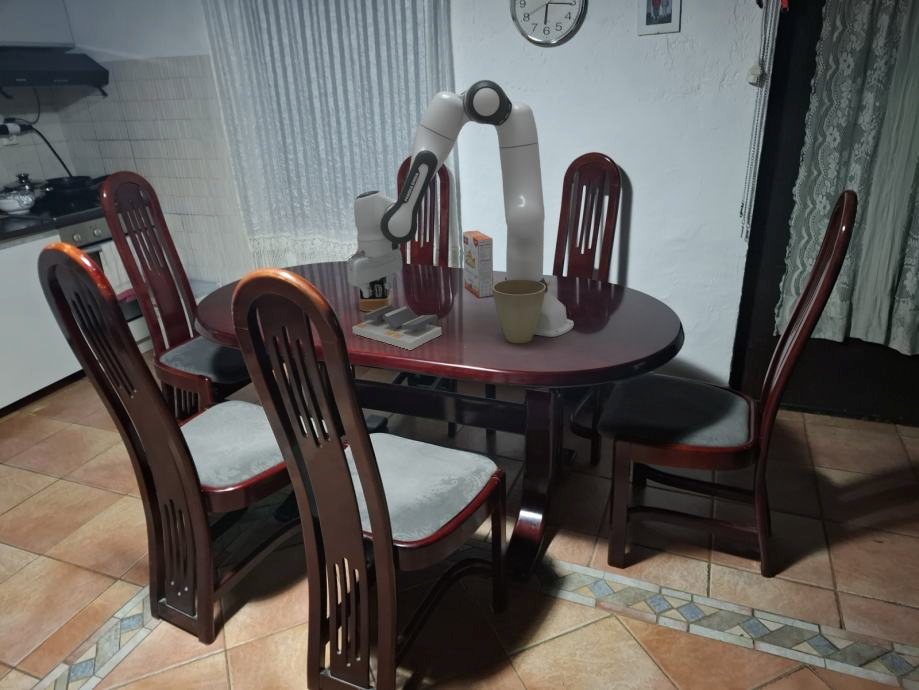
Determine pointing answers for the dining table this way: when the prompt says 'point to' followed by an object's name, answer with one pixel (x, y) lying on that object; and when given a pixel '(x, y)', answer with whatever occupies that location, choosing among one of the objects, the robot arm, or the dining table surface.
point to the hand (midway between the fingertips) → (378, 292)
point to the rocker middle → (399, 317)
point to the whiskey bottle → (375, 295)
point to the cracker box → (478, 263)
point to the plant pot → (518, 307)
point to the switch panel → (396, 333)
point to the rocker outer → (379, 313)
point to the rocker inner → (419, 322)
